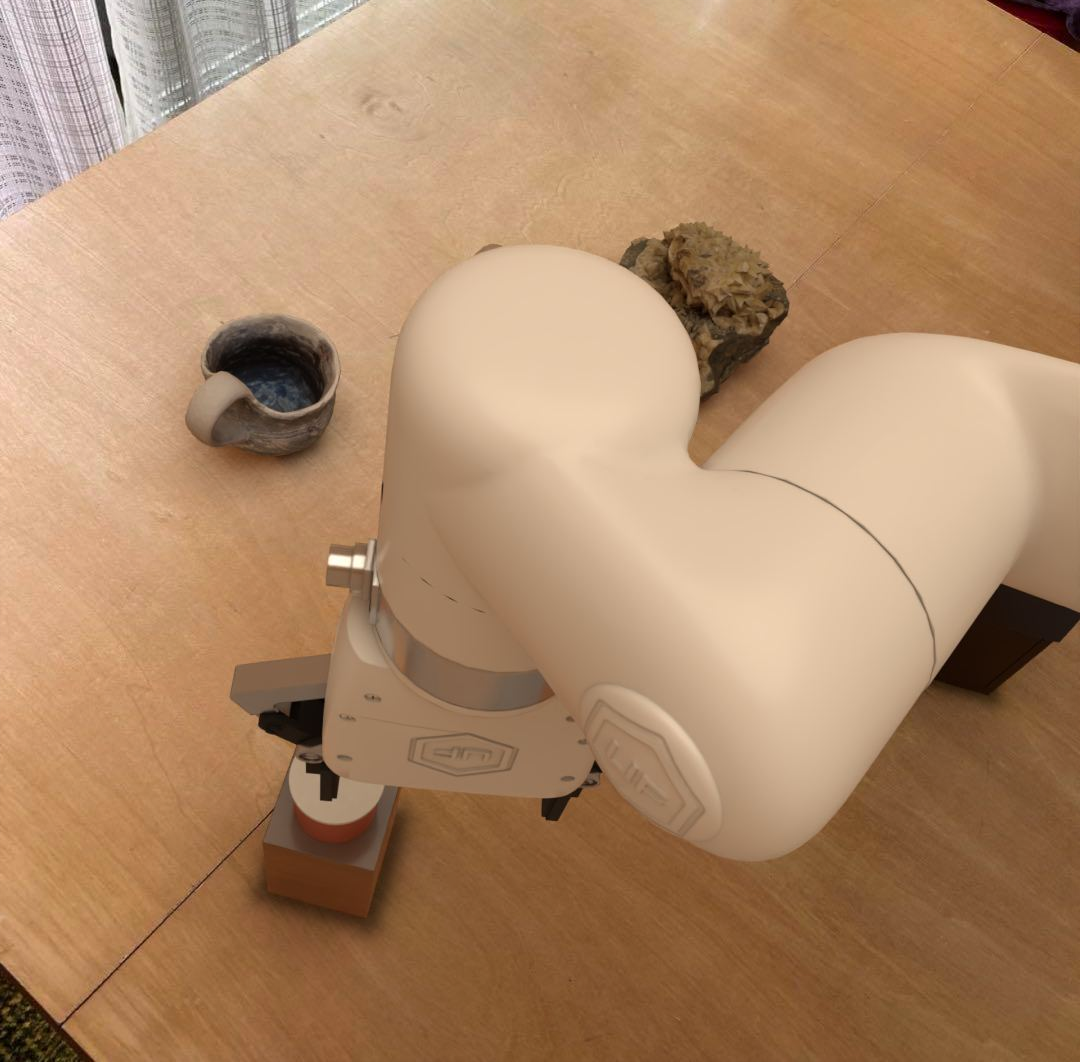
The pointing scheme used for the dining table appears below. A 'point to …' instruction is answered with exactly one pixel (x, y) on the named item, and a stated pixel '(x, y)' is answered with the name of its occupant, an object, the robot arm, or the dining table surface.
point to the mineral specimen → (712, 295)
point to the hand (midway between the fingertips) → (442, 778)
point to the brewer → (989, 657)
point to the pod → (332, 806)
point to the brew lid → (1028, 614)
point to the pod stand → (326, 857)
